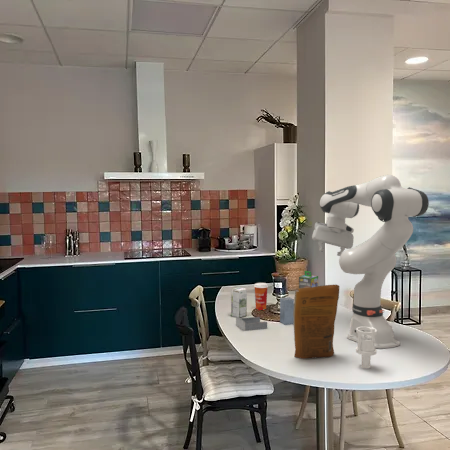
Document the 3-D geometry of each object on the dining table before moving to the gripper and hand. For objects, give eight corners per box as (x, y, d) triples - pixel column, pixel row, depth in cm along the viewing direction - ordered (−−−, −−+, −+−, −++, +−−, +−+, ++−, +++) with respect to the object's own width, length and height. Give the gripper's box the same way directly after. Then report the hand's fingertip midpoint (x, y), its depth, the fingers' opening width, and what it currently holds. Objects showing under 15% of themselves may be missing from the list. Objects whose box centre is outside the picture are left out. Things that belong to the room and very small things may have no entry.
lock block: (294, 323, 212) (294, 299, 211) (284, 324, 211) (284, 300, 210) (290, 321, 217) (290, 297, 216) (280, 322, 215) (280, 298, 214)
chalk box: (318, 294, 276) (318, 270, 275) (311, 296, 269) (311, 272, 268) (305, 292, 282) (306, 269, 281) (298, 294, 275) (298, 271, 274)
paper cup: (251, 309, 240) (251, 284, 239) (259, 306, 245) (259, 282, 244) (262, 311, 234) (262, 286, 233) (271, 309, 240) (271, 283, 239)
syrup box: (238, 314, 230) (238, 286, 229) (247, 316, 226) (246, 288, 225) (231, 316, 226) (230, 288, 225) (239, 318, 222) (239, 290, 221)
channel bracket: (259, 322, 215) (259, 314, 214) (267, 328, 205) (267, 320, 205) (236, 324, 211) (236, 316, 211) (243, 331, 202) (243, 322, 201)
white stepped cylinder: (365, 372, 154) (366, 330, 153) (351, 365, 160) (352, 325, 159) (380, 368, 157) (381, 327, 156) (366, 362, 163) (366, 322, 162)
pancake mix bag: (342, 357, 168) (343, 285, 166) (295, 361, 164) (295, 287, 162) (335, 351, 174) (335, 282, 172) (289, 355, 171) (289, 284, 169)
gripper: (317, 219, 209) (312, 247, 207) (356, 230, 212) (352, 258, 210) (312, 221, 215) (307, 249, 213) (350, 231, 218) (346, 258, 216)
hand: (330, 253), depth 211 cm, fingers open, 8 cm apart
